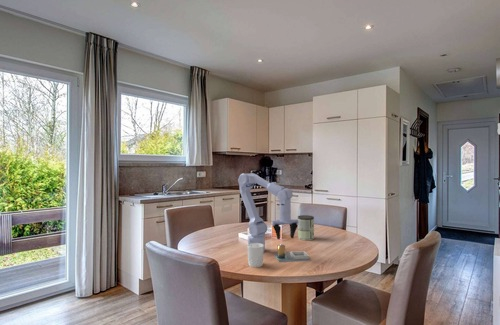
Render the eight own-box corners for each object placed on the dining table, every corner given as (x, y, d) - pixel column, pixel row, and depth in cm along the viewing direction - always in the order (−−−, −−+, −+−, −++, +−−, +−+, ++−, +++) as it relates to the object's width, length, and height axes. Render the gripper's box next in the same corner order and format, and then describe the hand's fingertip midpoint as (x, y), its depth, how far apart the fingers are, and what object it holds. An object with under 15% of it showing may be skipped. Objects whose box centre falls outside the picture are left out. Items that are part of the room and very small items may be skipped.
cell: (278, 258, 145) (278, 245, 145) (276, 256, 149) (276, 243, 149) (286, 258, 145) (286, 245, 145) (284, 256, 149) (284, 243, 149)
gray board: (279, 264, 139) (279, 259, 139) (273, 255, 153) (273, 250, 153) (311, 262, 142) (311, 257, 142) (302, 253, 156) (302, 249, 156)
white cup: (263, 263, 141) (263, 242, 141) (264, 269, 133) (264, 247, 133) (247, 263, 141) (246, 243, 141) (247, 269, 133) (247, 247, 133)
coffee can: (297, 236, 192) (297, 215, 193) (313, 236, 191) (312, 215, 192) (298, 240, 182) (298, 218, 182) (315, 240, 181) (314, 218, 181)
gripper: (275, 214, 143) (275, 241, 143) (301, 212, 148) (301, 239, 148) (269, 212, 150) (270, 238, 150) (295, 210, 154) (295, 235, 154)
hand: (285, 238), depth 149 cm, fingers open, 7 cm apart
